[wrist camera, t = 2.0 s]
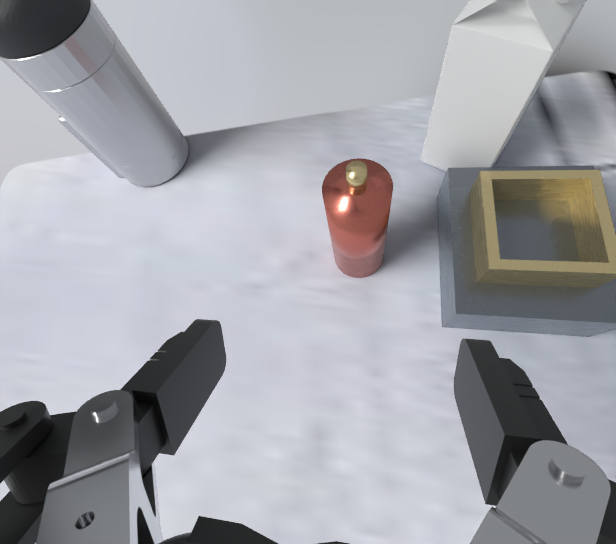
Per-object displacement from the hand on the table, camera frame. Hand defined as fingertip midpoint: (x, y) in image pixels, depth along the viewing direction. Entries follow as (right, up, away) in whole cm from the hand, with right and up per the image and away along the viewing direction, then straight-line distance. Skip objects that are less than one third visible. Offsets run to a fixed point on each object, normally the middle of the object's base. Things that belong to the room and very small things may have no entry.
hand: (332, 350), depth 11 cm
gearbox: (+18, +4, +21) cm, 28 cm away
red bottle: (+4, +4, +24) cm, 25 cm away
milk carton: (+17, +16, +27) cm, 35 cm away
